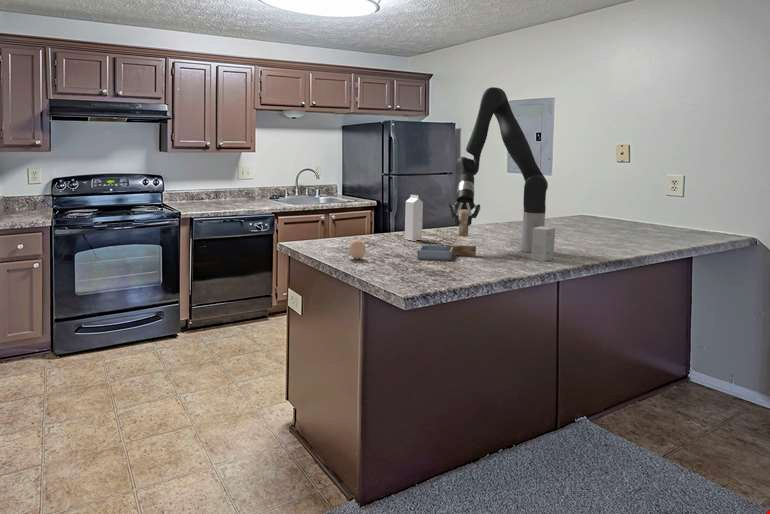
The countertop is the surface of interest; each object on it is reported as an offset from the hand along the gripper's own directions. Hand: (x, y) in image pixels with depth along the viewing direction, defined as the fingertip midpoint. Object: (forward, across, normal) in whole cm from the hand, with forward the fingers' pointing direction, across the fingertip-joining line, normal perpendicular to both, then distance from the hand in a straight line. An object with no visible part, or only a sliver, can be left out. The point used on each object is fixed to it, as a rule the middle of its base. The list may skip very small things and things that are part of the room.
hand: (463, 224), depth 239 cm
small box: (+11, +32, +8) cm, 35 cm away
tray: (+16, -11, +2) cm, 19 cm away
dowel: (+3, 0, +5) cm, 5 cm away
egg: (+25, -40, -8) cm, 48 cm away
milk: (-13, -26, +30) cm, 42 cm away
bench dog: (+11, -1, +7) cm, 13 cm away
